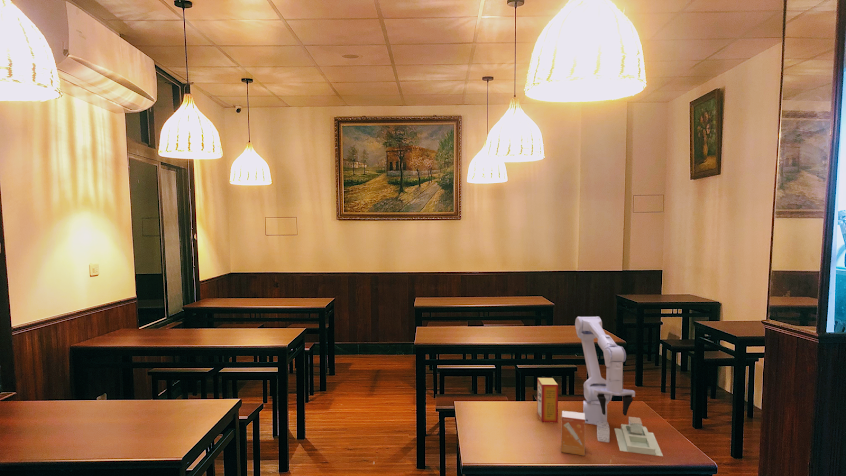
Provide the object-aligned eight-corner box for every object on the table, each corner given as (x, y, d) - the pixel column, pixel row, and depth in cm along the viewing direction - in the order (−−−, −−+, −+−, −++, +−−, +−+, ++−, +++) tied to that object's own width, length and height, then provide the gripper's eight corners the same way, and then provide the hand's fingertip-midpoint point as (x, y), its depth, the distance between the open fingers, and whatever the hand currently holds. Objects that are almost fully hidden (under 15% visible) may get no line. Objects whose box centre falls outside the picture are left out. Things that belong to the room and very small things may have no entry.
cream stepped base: (619, 452, 168) (619, 445, 168) (614, 430, 187) (614, 423, 187) (663, 458, 164) (663, 450, 164) (652, 434, 183) (653, 427, 183)
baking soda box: (537, 413, 204) (537, 376, 204) (552, 413, 204) (552, 377, 204) (541, 422, 195) (542, 383, 195) (557, 422, 195) (558, 384, 194)
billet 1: (597, 443, 176) (598, 427, 176) (596, 436, 181) (597, 421, 181) (609, 444, 175) (609, 428, 174) (607, 437, 180) (608, 422, 180)
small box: (561, 452, 168) (561, 416, 168) (561, 445, 174) (561, 410, 174) (585, 456, 165) (585, 419, 165) (584, 448, 172) (584, 412, 171)
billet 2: (630, 438, 178) (630, 422, 178) (628, 431, 184) (628, 416, 184) (642, 439, 177) (642, 423, 177) (639, 433, 183) (639, 417, 182)
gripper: (597, 381, 176) (597, 417, 176) (637, 382, 174) (637, 419, 174) (592, 375, 183) (592, 410, 183) (631, 376, 181) (631, 412, 181)
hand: (614, 414), depth 179 cm, fingers open, 7 cm apart
